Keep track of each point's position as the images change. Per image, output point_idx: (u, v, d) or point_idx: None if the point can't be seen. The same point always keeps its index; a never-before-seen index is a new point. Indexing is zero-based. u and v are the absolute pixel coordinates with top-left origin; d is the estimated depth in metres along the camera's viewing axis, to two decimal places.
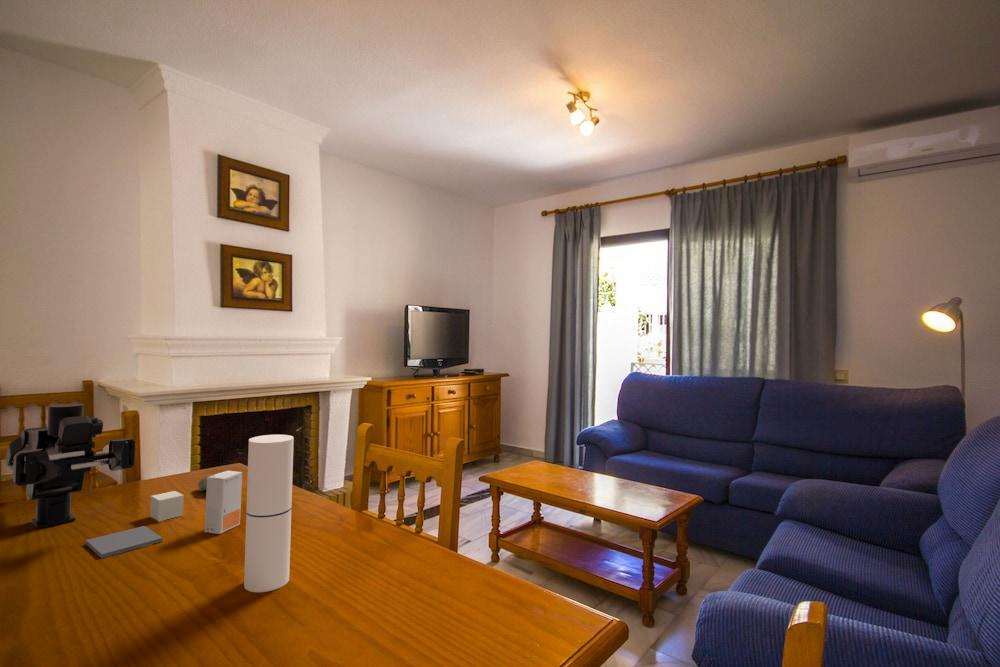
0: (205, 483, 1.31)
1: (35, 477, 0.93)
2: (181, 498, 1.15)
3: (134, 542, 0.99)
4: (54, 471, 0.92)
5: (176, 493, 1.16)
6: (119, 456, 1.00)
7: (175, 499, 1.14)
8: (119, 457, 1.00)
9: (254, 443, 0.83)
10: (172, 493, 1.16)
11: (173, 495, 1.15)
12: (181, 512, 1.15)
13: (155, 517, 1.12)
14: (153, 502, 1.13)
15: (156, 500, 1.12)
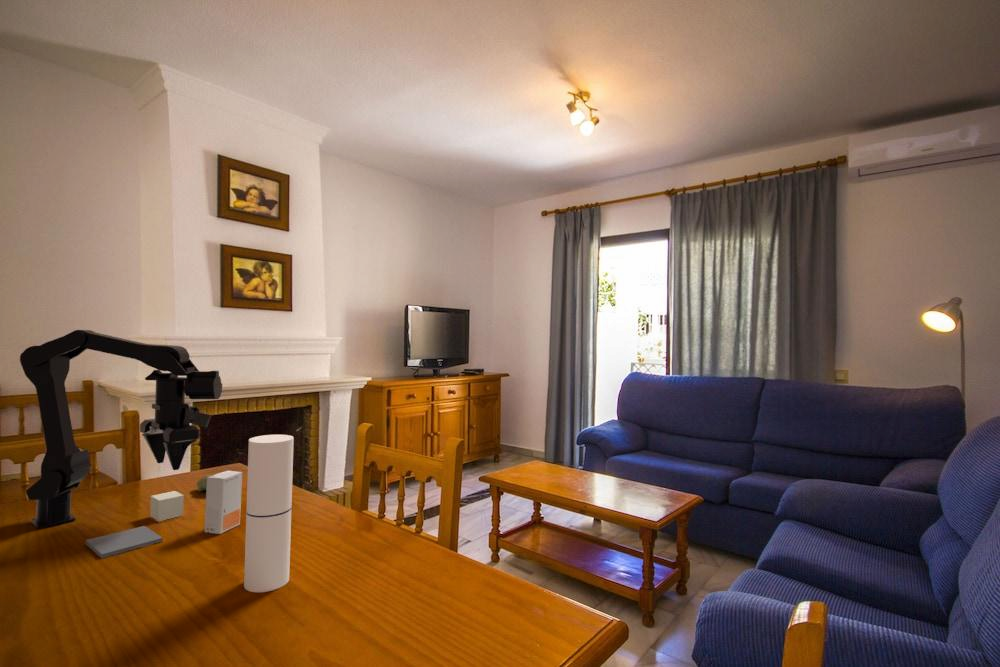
0: (204, 483, 1.31)
1: (172, 444, 1.09)
2: (181, 498, 1.15)
3: (134, 542, 0.99)
4: (177, 465, 1.12)
5: (176, 493, 1.16)
6: None
7: (175, 499, 1.14)
8: None
9: (254, 443, 0.83)
10: (172, 493, 1.16)
11: (173, 495, 1.15)
12: (181, 512, 1.15)
13: (155, 517, 1.12)
14: (153, 502, 1.13)
15: (156, 500, 1.12)
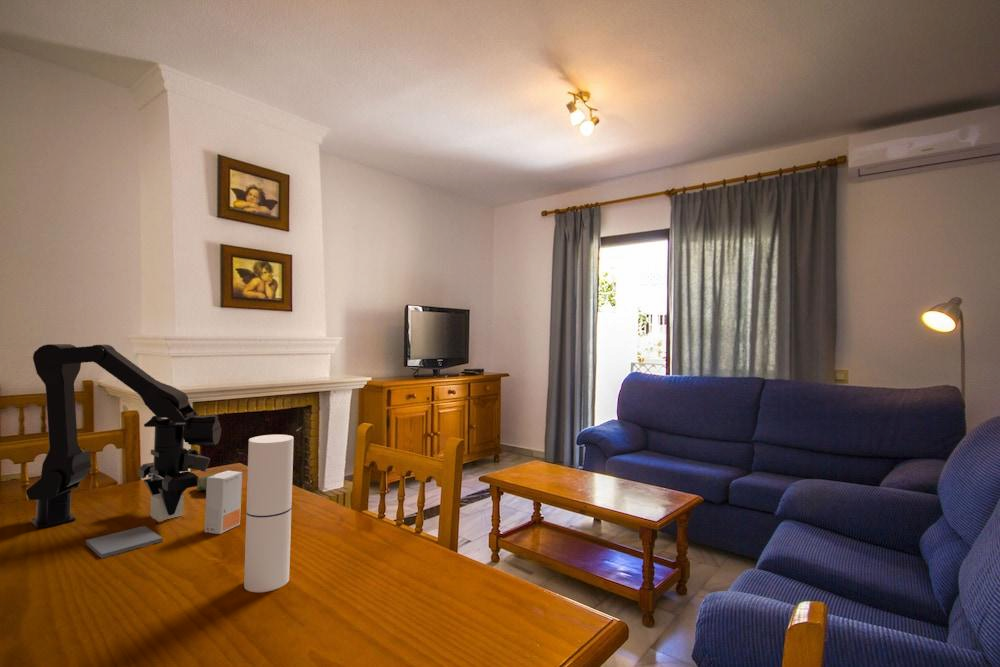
0: (202, 483, 1.31)
1: None
2: (181, 497, 1.15)
3: (134, 542, 0.99)
4: (172, 510, 1.13)
5: None
6: None
7: None
8: None
9: (254, 443, 0.83)
10: None
11: None
12: (181, 512, 1.15)
13: (155, 517, 1.12)
14: (153, 502, 1.13)
15: (156, 500, 1.12)
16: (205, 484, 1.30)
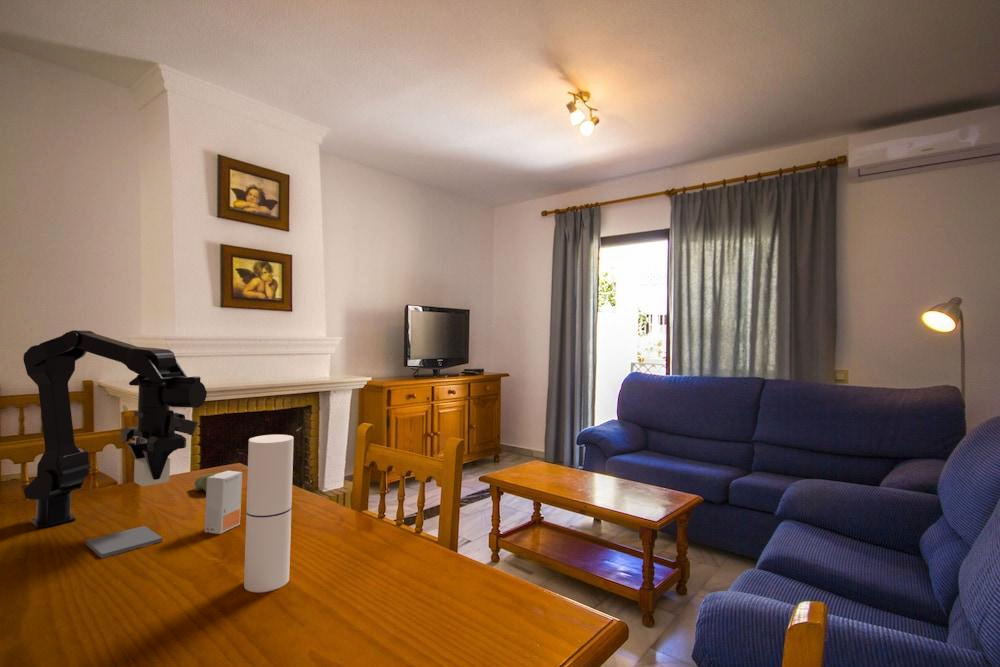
0: (201, 482, 1.31)
1: None
2: (168, 461, 1.09)
3: (134, 542, 0.99)
4: (158, 474, 1.06)
5: None
6: None
7: None
8: None
9: (254, 443, 0.83)
10: None
11: None
12: (167, 476, 1.09)
13: (139, 481, 1.06)
14: (137, 465, 1.07)
15: (140, 463, 1.06)
16: (203, 484, 1.30)
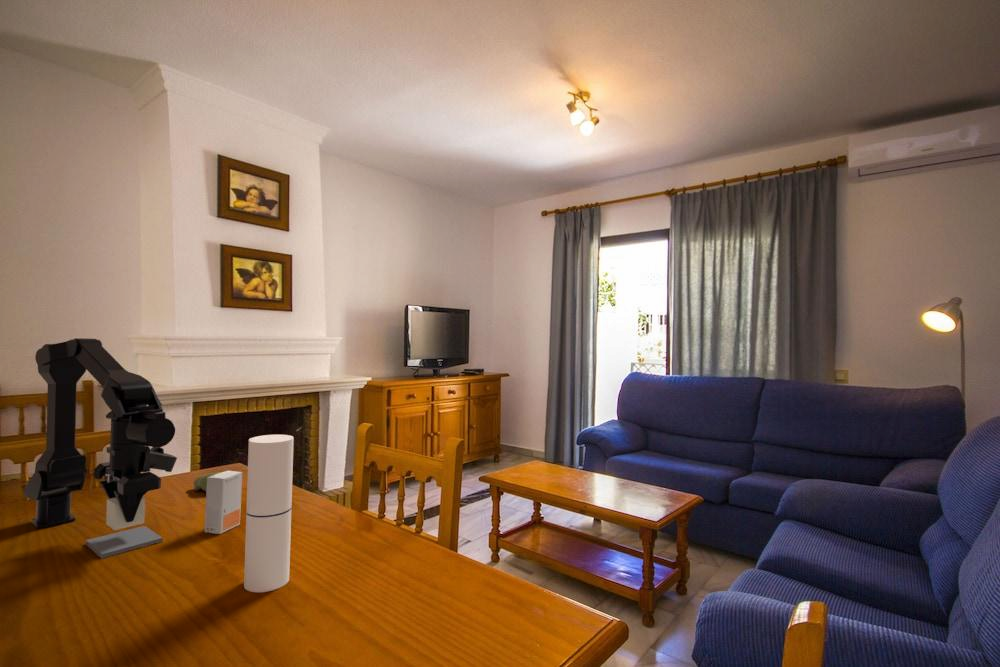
0: (200, 482, 1.31)
1: None
2: (142, 502, 1.00)
3: (134, 542, 0.99)
4: (131, 516, 0.98)
5: None
6: None
7: None
8: None
9: (254, 443, 0.83)
10: None
11: None
12: (142, 518, 1.00)
13: (111, 524, 0.98)
14: (109, 506, 0.98)
15: (112, 504, 0.97)
16: (202, 483, 1.31)
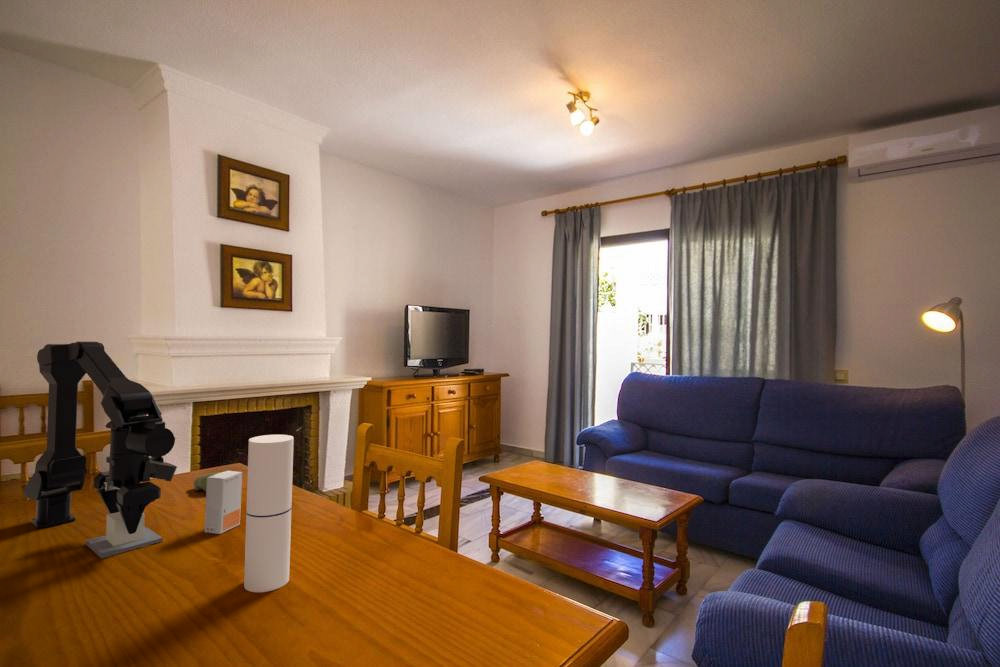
0: (200, 482, 1.31)
1: None
2: (142, 517, 1.00)
3: (134, 542, 0.99)
4: (133, 528, 0.97)
5: None
6: None
7: None
8: None
9: (254, 443, 0.83)
10: None
11: None
12: (141, 533, 1.00)
13: (110, 540, 0.97)
14: (109, 522, 0.98)
15: (111, 520, 0.97)
16: (202, 483, 1.31)
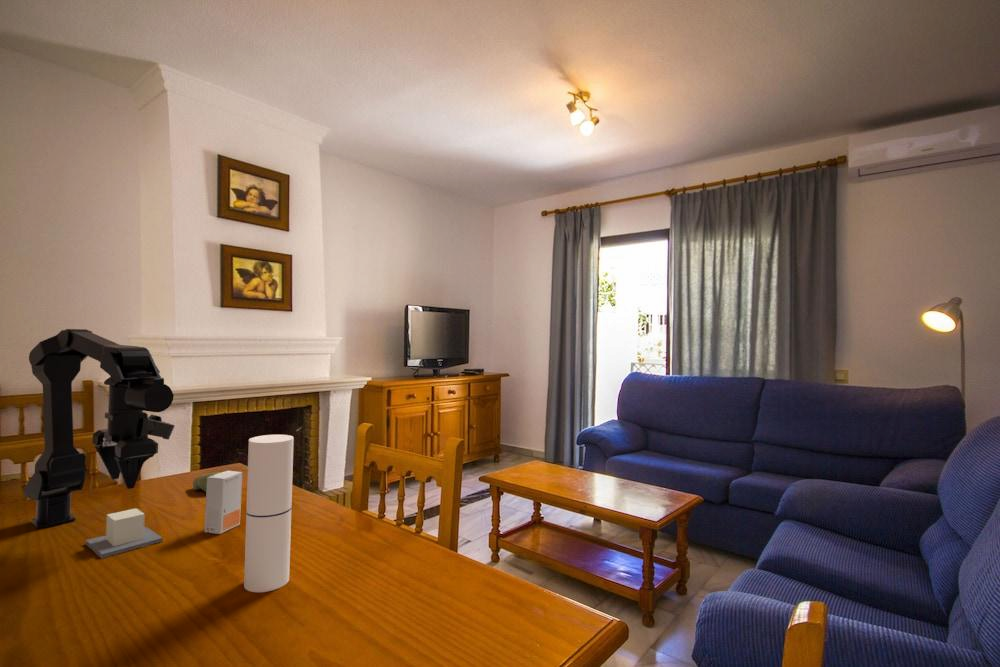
0: (199, 482, 1.32)
1: None
2: (142, 517, 1.00)
3: (134, 542, 0.99)
4: (132, 483, 0.98)
5: (137, 511, 1.02)
6: None
7: (133, 518, 0.99)
8: None
9: (254, 443, 0.83)
10: (132, 511, 1.01)
11: (132, 513, 1.00)
12: (141, 533, 1.00)
13: (110, 540, 0.97)
14: (109, 522, 0.98)
15: (111, 520, 0.97)
16: (201, 483, 1.31)
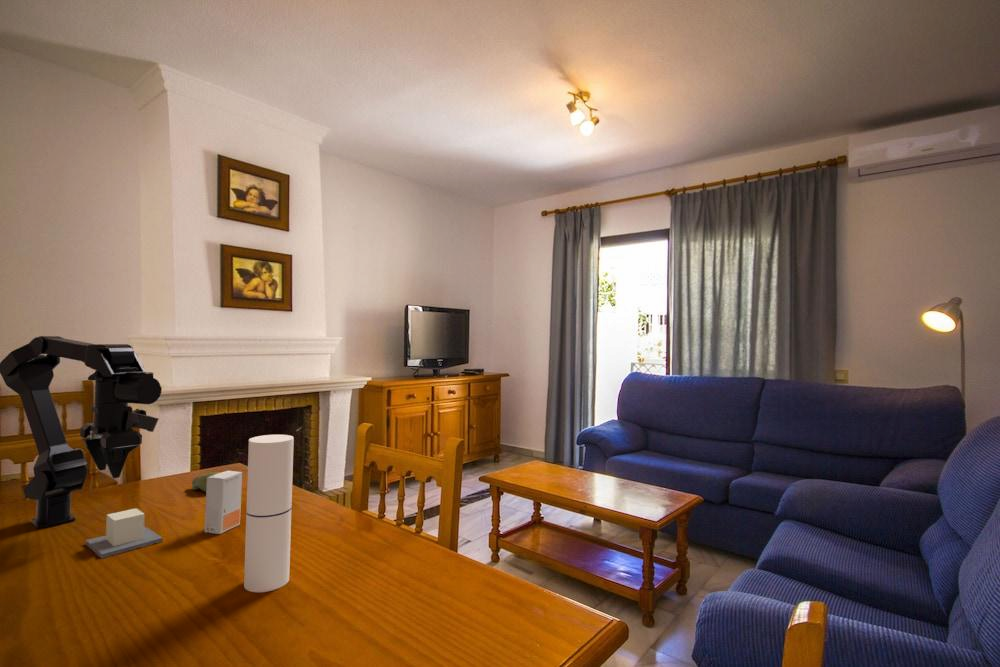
0: (198, 482, 1.32)
1: (110, 450, 1.01)
2: (142, 517, 1.00)
3: (134, 542, 0.99)
4: (117, 473, 1.04)
5: (137, 511, 1.02)
6: None
7: (133, 518, 0.99)
8: None
9: (254, 443, 0.83)
10: (132, 511, 1.01)
11: (132, 513, 1.00)
12: (141, 533, 1.00)
13: (110, 540, 0.97)
14: (109, 522, 0.98)
15: (111, 520, 0.97)
16: (200, 483, 1.31)
